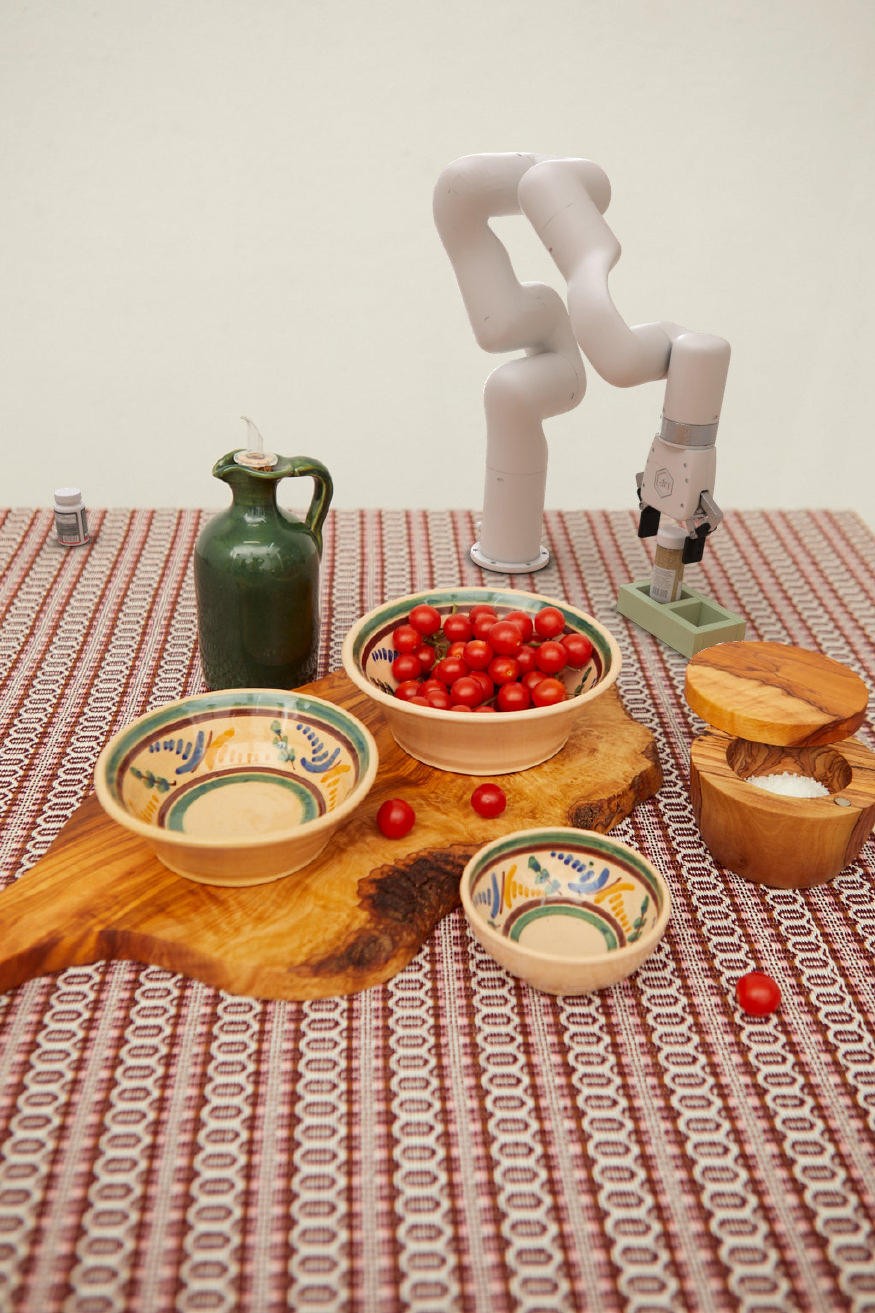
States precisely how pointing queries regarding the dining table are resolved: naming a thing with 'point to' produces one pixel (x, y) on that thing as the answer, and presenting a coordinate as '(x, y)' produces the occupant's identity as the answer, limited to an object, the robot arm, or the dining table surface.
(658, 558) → the sprinkles bottle
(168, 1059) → the dining table surface
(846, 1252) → the dining table surface
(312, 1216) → the dining table surface
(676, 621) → the socket block
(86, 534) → the pill bottle
